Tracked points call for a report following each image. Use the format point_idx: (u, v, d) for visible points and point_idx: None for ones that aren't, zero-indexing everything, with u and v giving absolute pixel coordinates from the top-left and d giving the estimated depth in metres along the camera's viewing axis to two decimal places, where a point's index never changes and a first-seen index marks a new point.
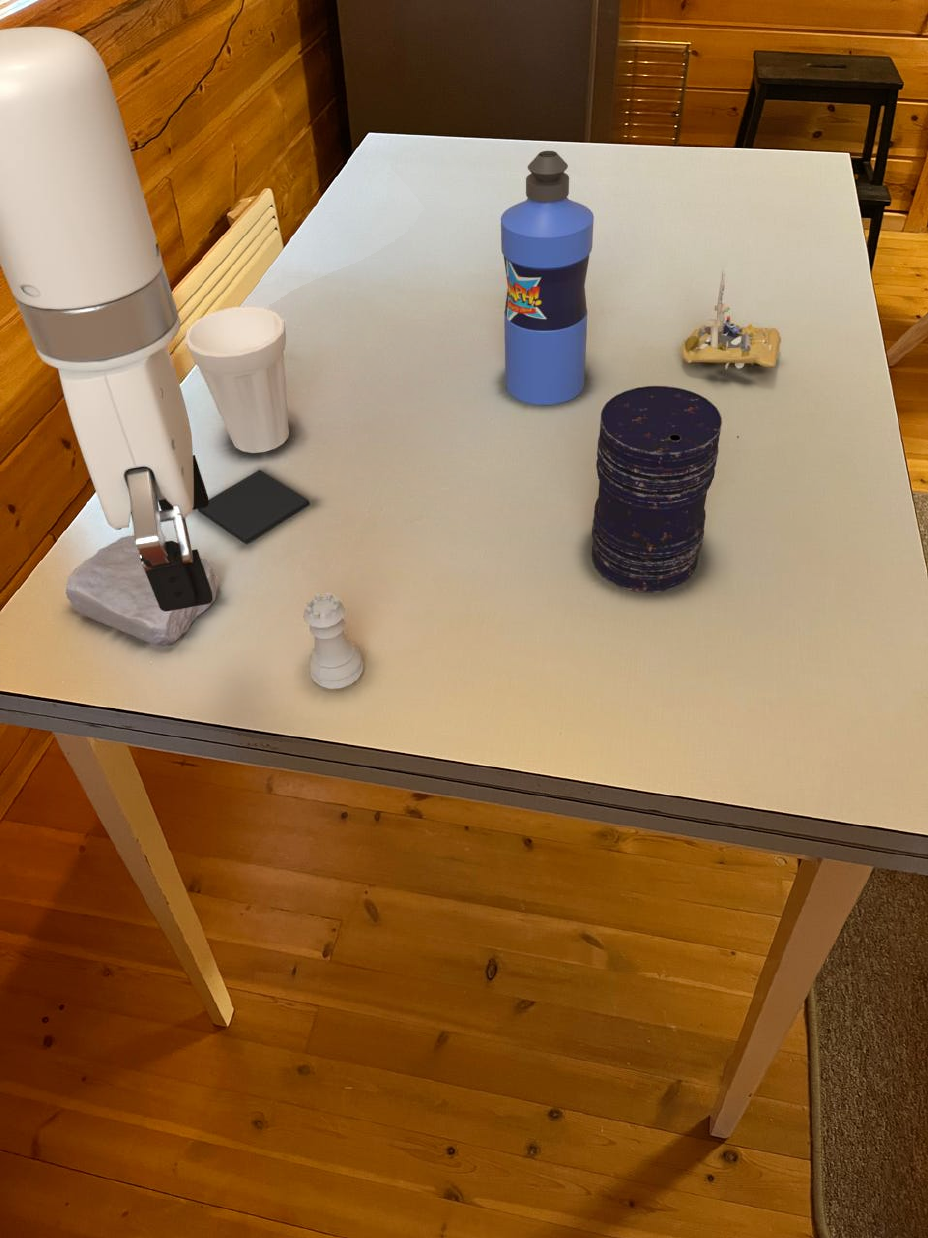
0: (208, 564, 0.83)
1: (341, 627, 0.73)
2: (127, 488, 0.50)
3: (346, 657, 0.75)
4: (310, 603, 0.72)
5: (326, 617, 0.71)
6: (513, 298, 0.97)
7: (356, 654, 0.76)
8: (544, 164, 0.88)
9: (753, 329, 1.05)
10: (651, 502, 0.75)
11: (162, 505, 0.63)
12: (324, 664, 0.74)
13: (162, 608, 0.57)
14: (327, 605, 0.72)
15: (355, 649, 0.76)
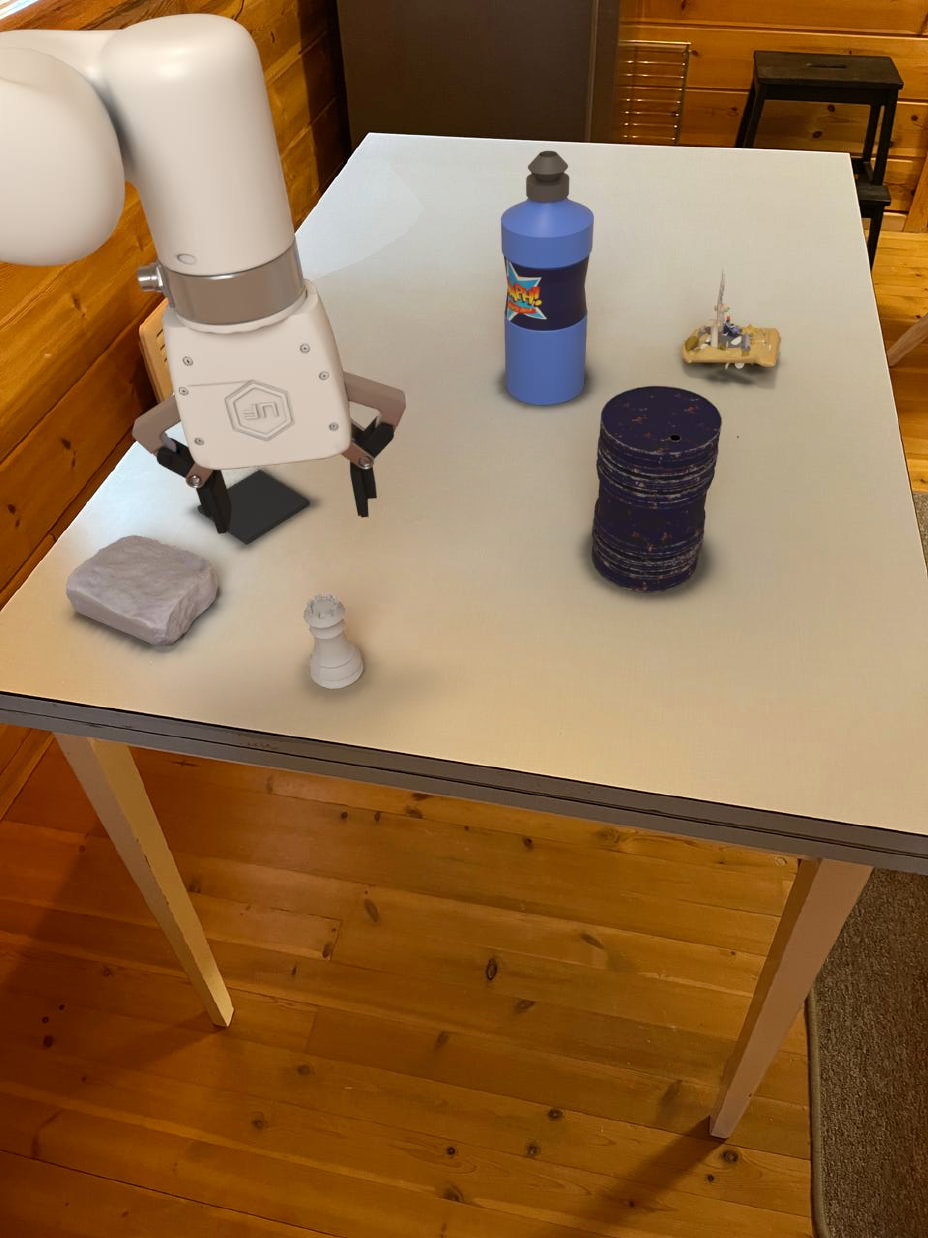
0: (208, 564, 0.83)
1: (341, 627, 0.73)
2: (346, 395, 0.57)
3: (346, 657, 0.75)
4: (310, 603, 0.72)
5: (326, 617, 0.71)
6: (513, 298, 0.97)
7: (356, 654, 0.76)
8: (545, 164, 0.88)
9: (753, 329, 1.05)
10: (651, 502, 0.75)
11: (226, 522, 0.63)
12: (324, 664, 0.74)
13: (368, 514, 0.63)
14: (327, 605, 0.72)
15: (355, 649, 0.76)
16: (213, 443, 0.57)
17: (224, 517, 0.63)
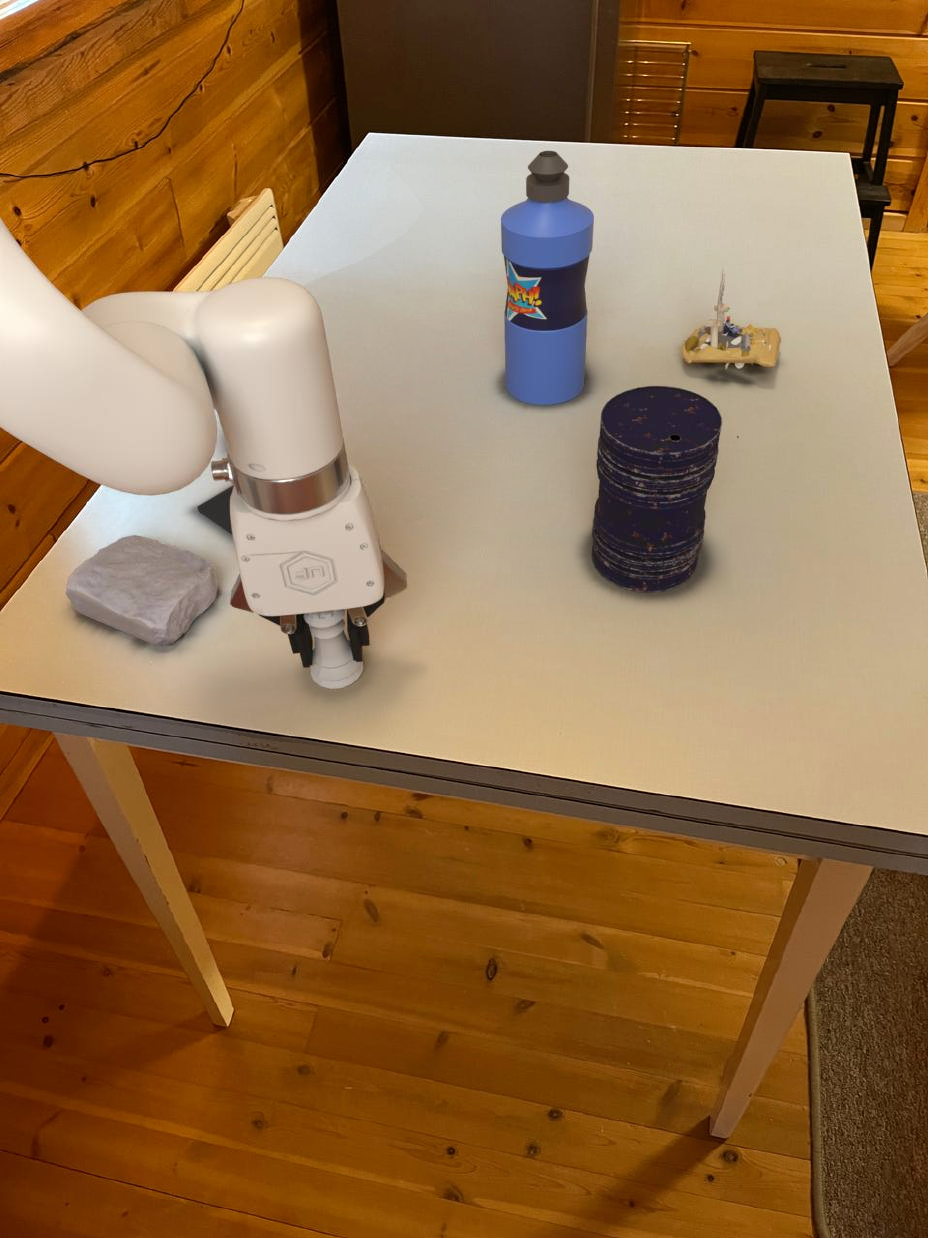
0: (208, 564, 0.83)
1: (341, 627, 0.73)
2: (380, 555, 0.68)
3: (346, 657, 0.75)
4: None
5: (326, 617, 0.71)
6: (513, 298, 0.97)
7: None
8: (545, 164, 0.88)
9: (753, 329, 1.05)
10: (651, 502, 0.75)
11: (310, 659, 0.74)
12: (324, 664, 0.74)
13: (362, 659, 0.74)
14: None
15: None
16: (267, 596, 0.67)
17: (309, 655, 0.74)
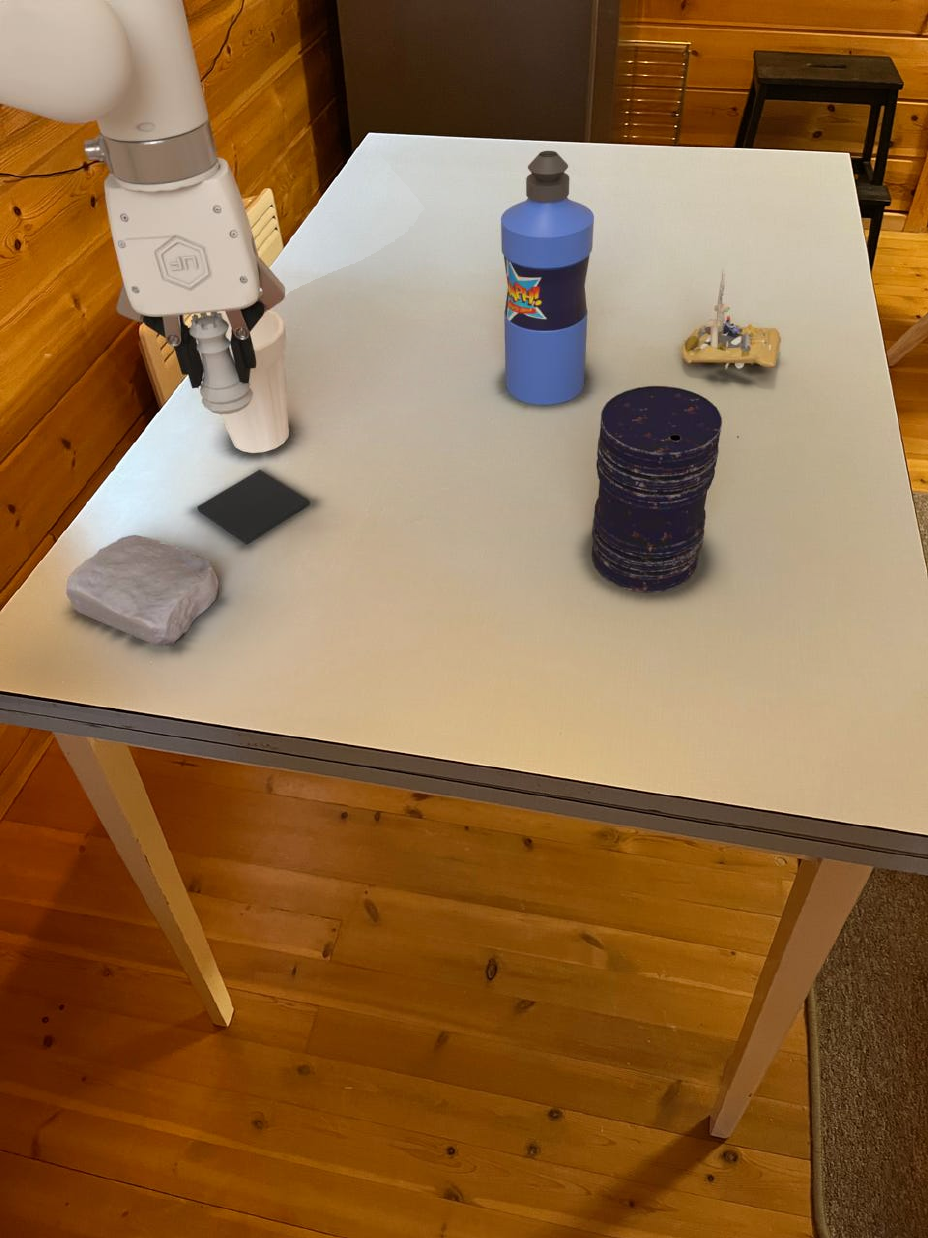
0: (208, 564, 0.83)
1: (226, 344, 0.77)
2: (255, 255, 0.72)
3: (233, 379, 0.79)
4: (195, 317, 0.76)
5: (209, 327, 0.75)
6: (513, 298, 0.97)
7: None
8: (545, 164, 0.88)
9: (753, 329, 1.05)
10: (651, 502, 0.75)
11: (198, 378, 0.78)
12: (212, 385, 0.79)
13: (247, 380, 0.78)
14: (211, 319, 0.76)
15: None
16: (146, 290, 0.71)
17: (197, 373, 0.78)
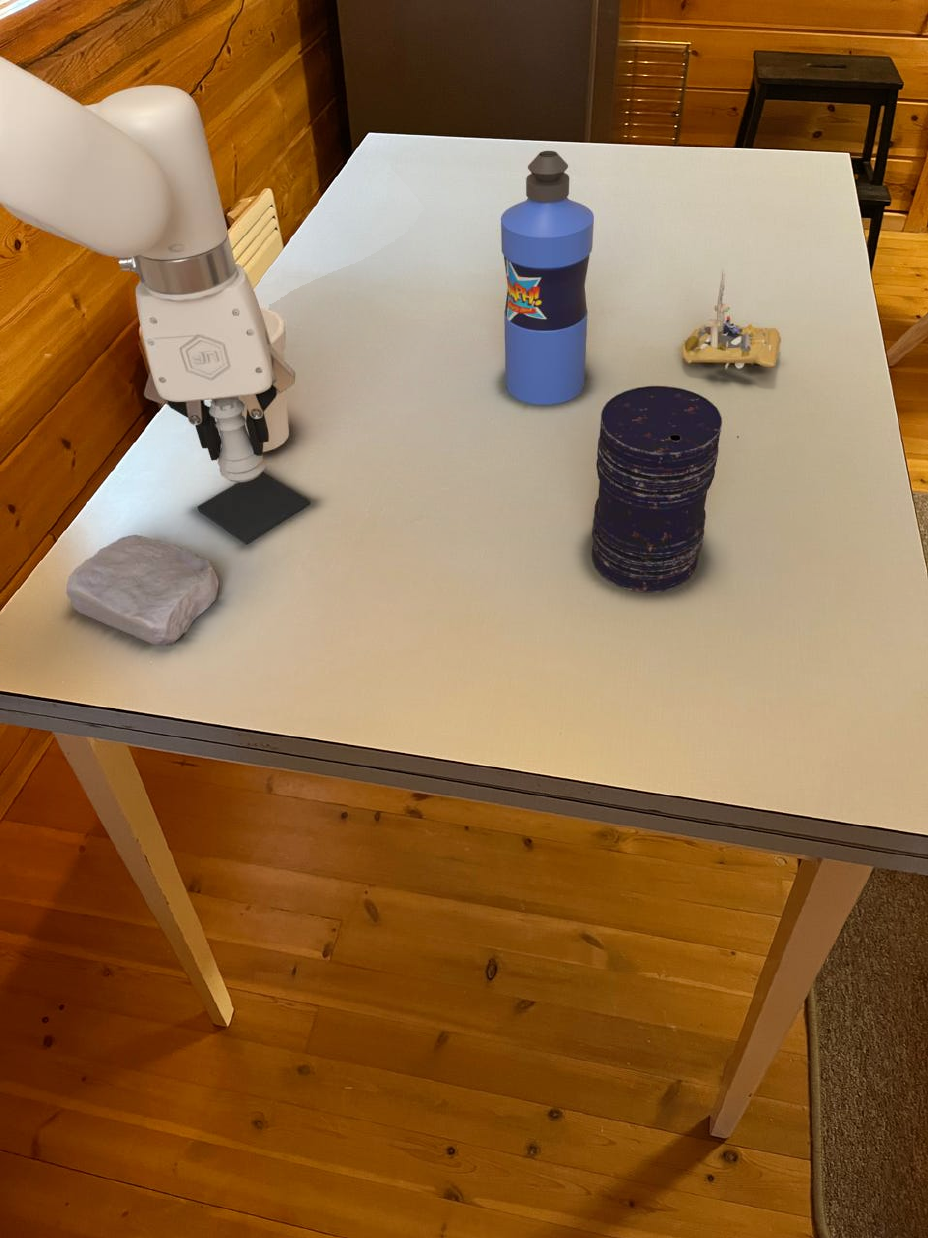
0: (209, 564, 0.83)
1: (242, 422, 0.86)
2: (268, 348, 0.80)
3: (248, 452, 0.87)
4: (214, 399, 0.84)
5: (227, 408, 0.84)
6: (513, 298, 0.97)
7: None
8: (545, 164, 0.88)
9: (753, 329, 1.05)
10: (651, 502, 0.75)
11: (217, 452, 0.86)
12: (229, 457, 0.87)
13: (261, 453, 0.87)
14: (229, 401, 0.84)
15: None
16: (172, 381, 0.79)
17: (215, 448, 0.86)
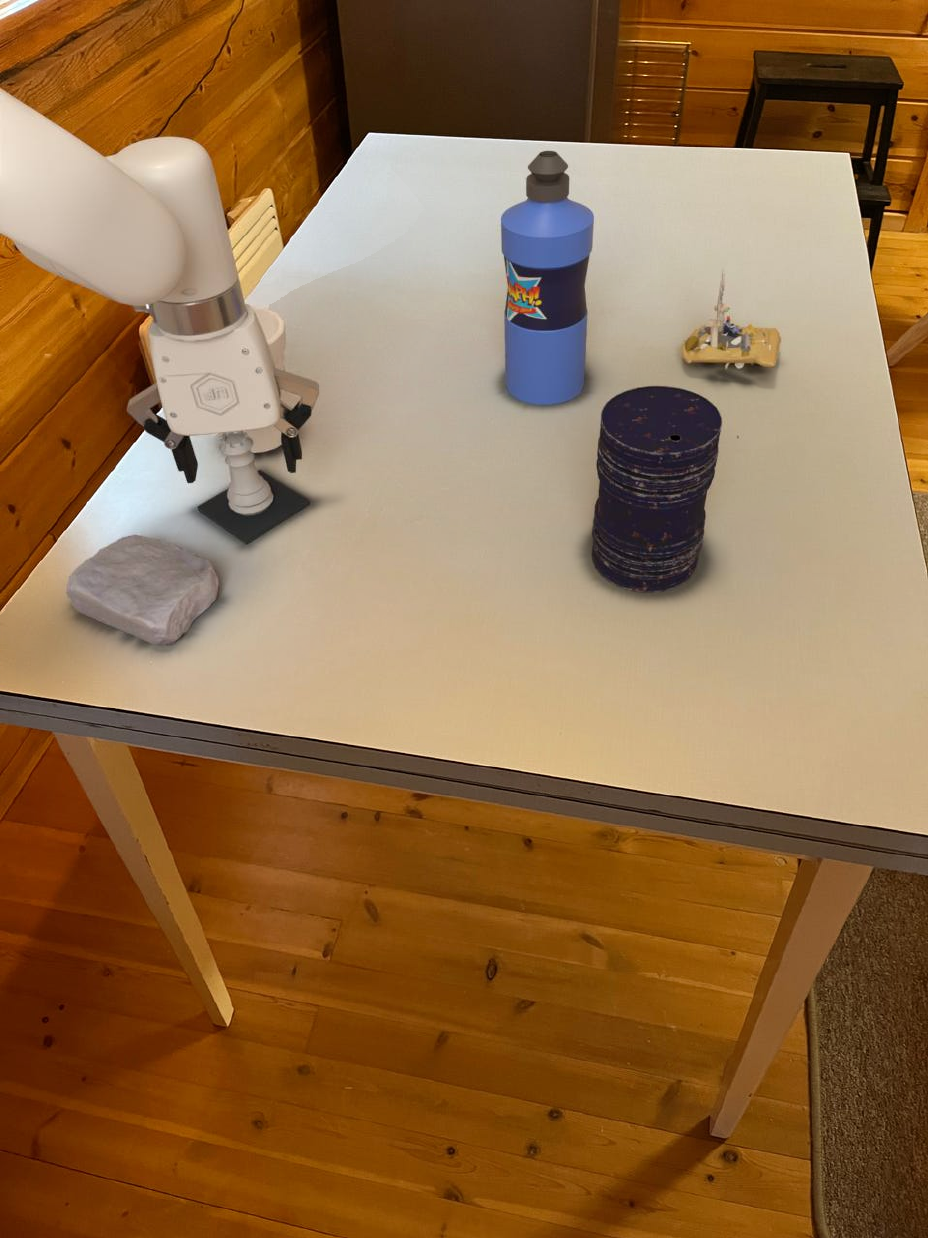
0: (209, 564, 0.83)
1: (250, 458, 0.88)
2: (276, 384, 0.83)
3: (256, 486, 0.90)
4: (224, 436, 0.87)
5: (236, 445, 0.86)
6: (513, 298, 0.97)
7: (266, 486, 0.91)
8: (545, 164, 0.88)
9: (753, 329, 1.05)
10: (651, 502, 0.75)
11: (193, 475, 0.88)
12: (238, 491, 0.90)
13: (295, 470, 0.89)
14: (238, 438, 0.87)
15: (265, 482, 0.92)
16: (183, 416, 0.82)
17: (191, 471, 0.88)
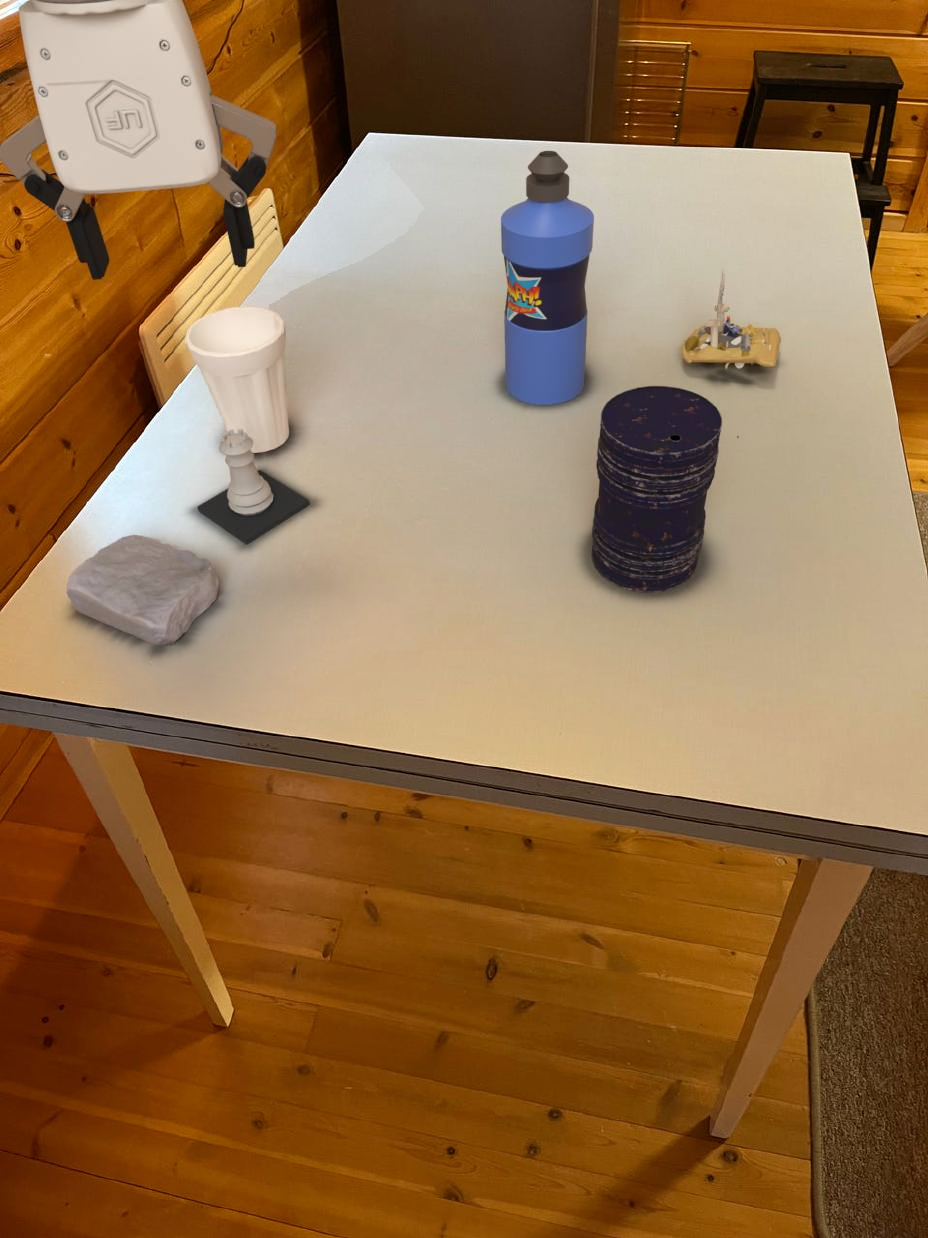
0: (209, 564, 0.83)
1: (250, 458, 0.88)
2: (214, 116, 0.57)
3: (256, 486, 0.90)
4: (224, 436, 0.87)
5: (236, 445, 0.86)
6: (513, 298, 0.97)
7: (266, 486, 0.91)
8: (545, 164, 0.88)
9: (753, 329, 1.05)
10: (651, 502, 0.75)
11: (99, 266, 0.62)
12: (238, 491, 0.90)
13: (244, 263, 0.63)
14: (238, 438, 0.87)
15: (265, 482, 0.92)
16: (77, 157, 0.56)
17: (97, 259, 0.62)
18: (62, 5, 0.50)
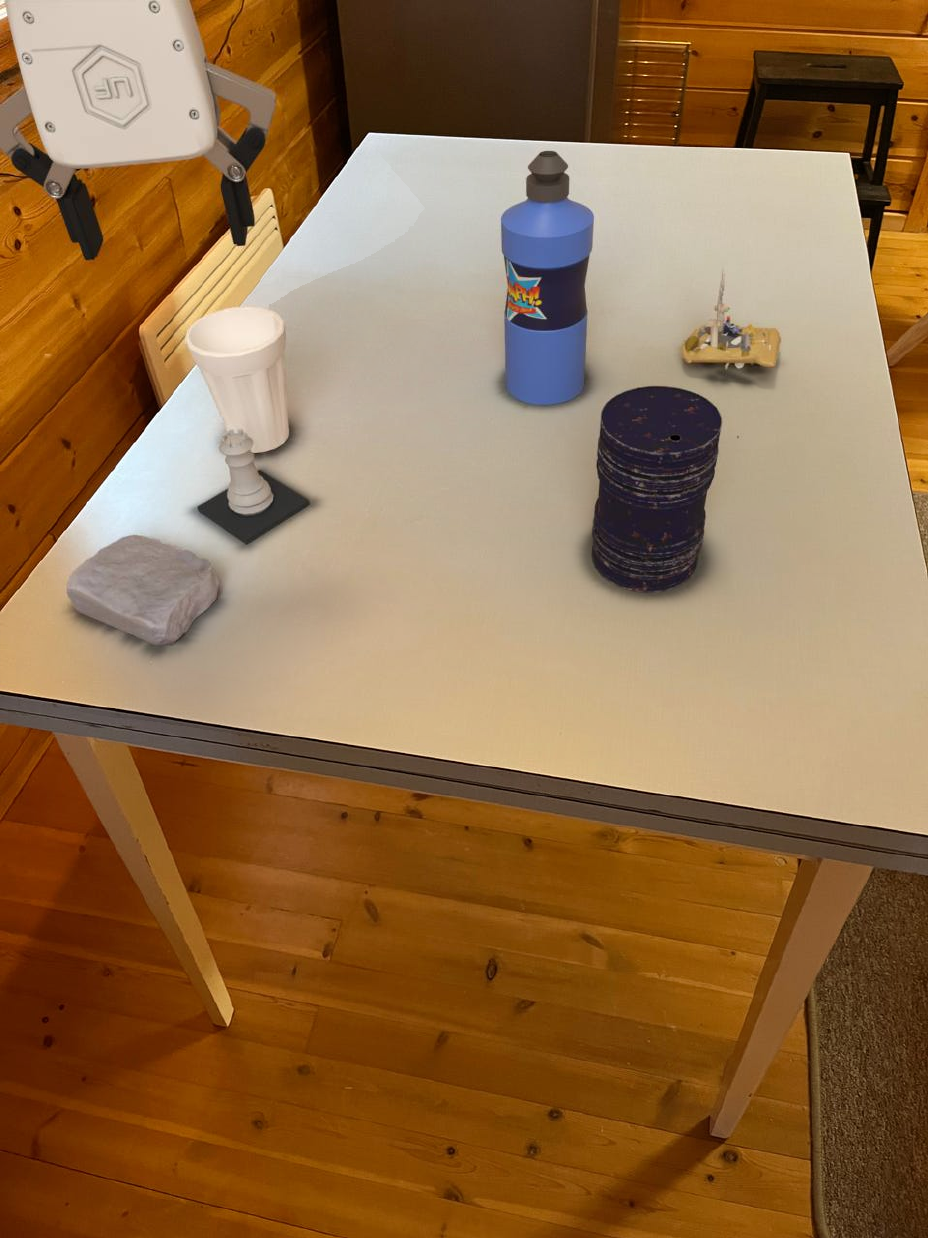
0: (209, 564, 0.83)
1: (250, 458, 0.88)
2: (209, 84, 0.54)
3: (256, 486, 0.90)
4: (224, 436, 0.87)
5: (236, 445, 0.86)
6: (513, 298, 0.97)
7: (266, 486, 0.91)
8: (545, 164, 0.88)
9: (753, 329, 1.05)
10: (651, 502, 0.75)
11: (92, 246, 0.59)
12: (238, 491, 0.90)
13: (244, 241, 0.60)
14: (238, 438, 0.87)
15: (265, 482, 0.92)
16: (65, 129, 0.53)
17: (90, 239, 0.59)
18: None
